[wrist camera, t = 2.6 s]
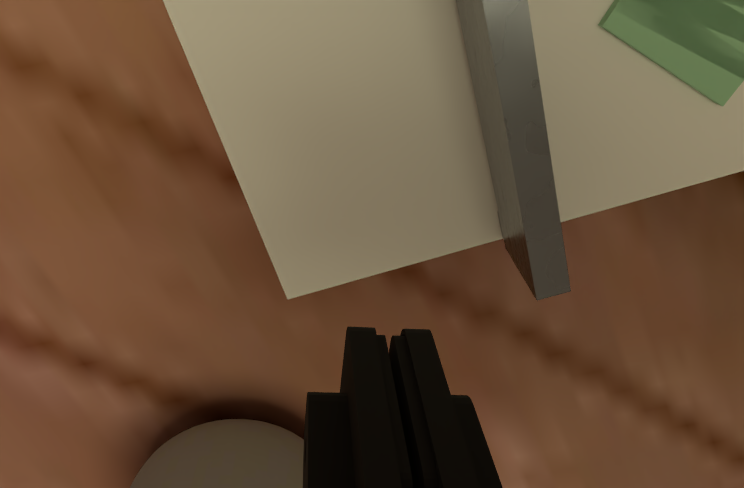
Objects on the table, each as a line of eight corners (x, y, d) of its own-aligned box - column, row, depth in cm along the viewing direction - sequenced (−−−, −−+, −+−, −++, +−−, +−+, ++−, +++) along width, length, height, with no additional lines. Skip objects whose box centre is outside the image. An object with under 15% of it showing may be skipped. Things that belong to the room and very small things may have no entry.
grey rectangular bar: (558, 233, 24) (599, 283, 20) (481, 254, 24) (508, 307, 21) (494, -193, 17) (537, -229, 14) (389, -159, 18) (405, -185, 14)
